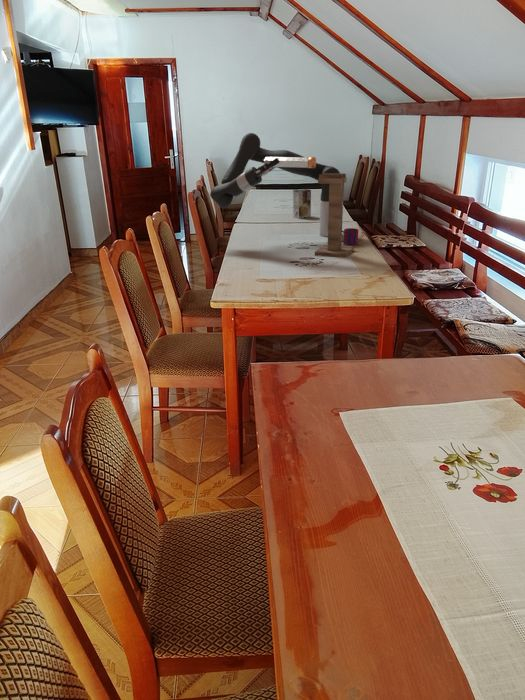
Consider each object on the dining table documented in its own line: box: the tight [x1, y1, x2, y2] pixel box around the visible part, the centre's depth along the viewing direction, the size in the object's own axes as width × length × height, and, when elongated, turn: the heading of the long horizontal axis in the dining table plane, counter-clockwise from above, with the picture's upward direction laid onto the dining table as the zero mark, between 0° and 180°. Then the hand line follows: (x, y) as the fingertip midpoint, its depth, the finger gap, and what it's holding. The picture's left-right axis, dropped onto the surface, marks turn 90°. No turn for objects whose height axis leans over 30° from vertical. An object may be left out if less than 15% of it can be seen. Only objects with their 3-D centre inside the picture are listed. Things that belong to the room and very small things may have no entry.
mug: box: [342, 227, 359, 246], centre depth 254 cm, size 7×10×7 cm
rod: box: [263, 156, 317, 168], centre depth 231 cm, size 4×22×4 cm, turn 68°
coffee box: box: [292, 188, 312, 219], centre depth 324 cm, size 9×6×16 cm
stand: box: [314, 173, 354, 258], centre depth 232 cm, size 14×14×34 cm
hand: (280, 159), depth 232 cm, fingers closed on rod, 4 cm apart
